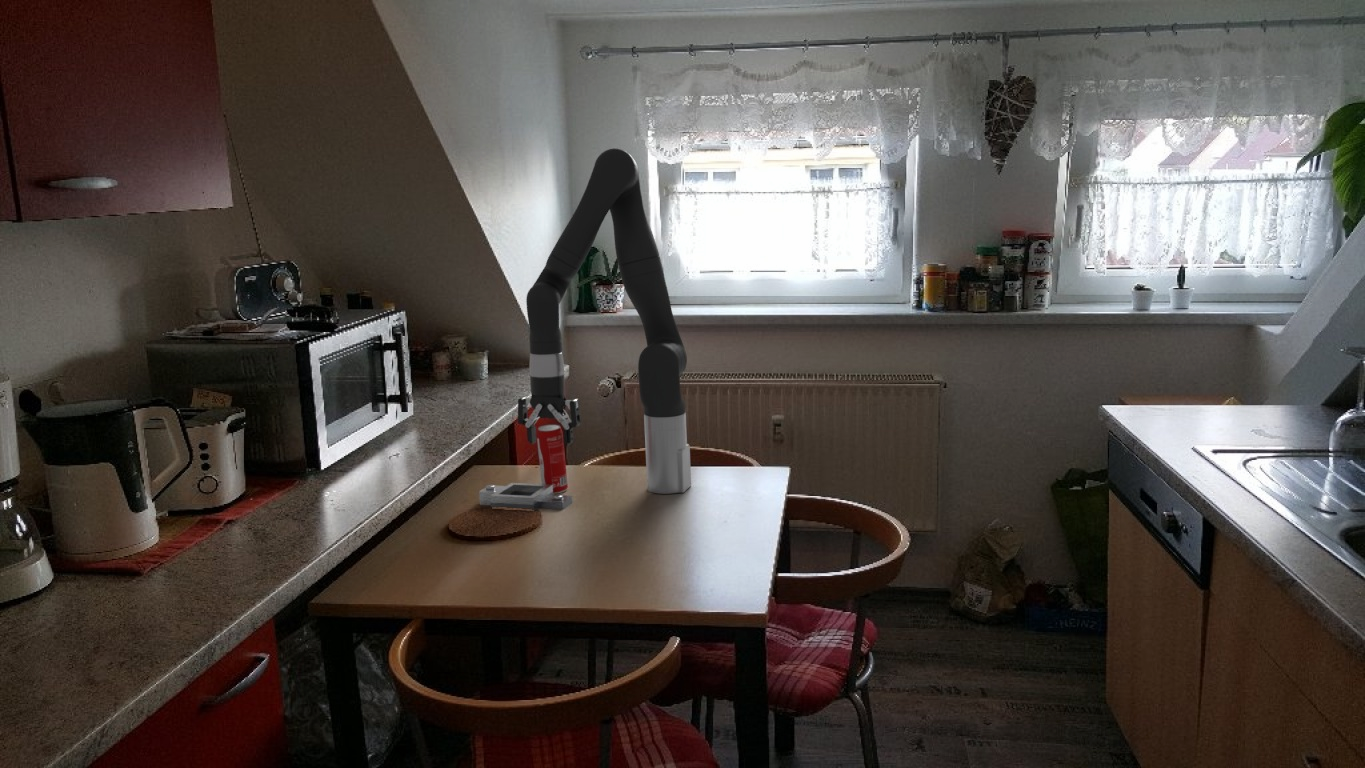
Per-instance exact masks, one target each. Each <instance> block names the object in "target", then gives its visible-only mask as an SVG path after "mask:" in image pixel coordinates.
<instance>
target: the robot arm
mask: <svg viewBox="0 0 1365 768" xmlns="http://www.w3.org/2000/svg"><path fill="white" fill-rule="evenodd" d="M641 190H642V189H641V183H640V172H639V167H638V163H637V162H636V160H635V159H634V157H632V155H631V154H630V153H629V152H627V151H626V150H624V149H621V148H618V147H617V148H609V149H607V150H604V151H603V152H601V153H600V154H599V155H598V156H597V158H596V159H595V162H594V165H593V168H592V171H591V174H590V177H589V179H588V183H587V185H586V188H585V190H584V192H583V194H582V197H581V199H580V201H579V203H578V205H577V206H576V208H575V210H574V213H573V214H572V216H571V218H570V219H569V221H568V223H567V224H566V226H565V228H564V229H563V231H562V232H561V234H560V236H559V238H558V240H557V241H556V243H555V245H554V247H553V248H552V249H551V252H550V254H549V256H548V258H547V260H546V261H545V262H546V263H545V266H544V267H543V269H542V271H541V272H540V274H539V276H538V278H537V279H536V280H535V282H534V284H533V285H532V286H531V287H530V289H529V290H528V292H527V294H526V301H525V303H526V314H527V320H528V326H529V337H528V338H529V369H528V371H529V379H530V380H529V381H530V382H529V383H530V394H531V395H530V396H531V397H530V398H528V397H527V396H523V397H520V398H519V399H518V400H517V424H518V425H520V426H525V428H526V438H527V439H526V440H527V441H528V442H529V444H530V445H534V444H536V443H537V426H535V424H536V423H537V422H538V420H539V419H547V418H548V419H552V420H554V419H556V421H557V422H558V423H560V424H561V426H562V427H563V428H564V429H563V442H564V447H569V446H570V445H571V444H572V443H573V442H574V428H577V427H579V426H580V425H581V424H582V421H581V409H580V400H579V398H574V399H567V398H566V388H565V387H566V385H565V365H564V364H565V361H564V355H563V344H562V343H563V341H562V340H563V338H562V332H561V329H560V303H561V302H562V300H563V298H564V296H565V294H566V292H567V290H568V288H569V286H570V284H571V282H572V280H573V279H574V278H575V276H576V275H577V274H578V272H579V270H580V269H581V266H582V265H583V263H584V262H585V260H586V259H587V256H588V254H589V252H590V250H591V248H592V246H593V245H594V242H595V239H596V237H597V235H598V233H599V230H600V228H601V226H602V223H603V221H604V220H605V218H606V217H607V215H608V213H609V212H610V214H611V215H610V216H611V219H612V224H613V225H612V226H613V235H614V237H613V239H614V249H615V255H616V260H617V266H618V270H619V273H620V274H619V275H620V277H621V282H622V285H623V288H624V289H625V292H626V295H627V296H628V298H629V300H630V302H631V304H632V305H633V308H634V309H635V310H636V312H637V314H638V316H639V319H640V320H641V323H642V327H643V330H644V334H645V340H646V347H645V348H643V349H642V351H641V353H640V354H639V357H638V364H637V365H638V367H637V369H638V385H639V397H640V401H641V402H640V403H641V404H642V408H643V420H644V422H643V423H644V424H643V425H644V438H645V439H644V441H645V442H644V445H645V464H646V465H645V466H646V467H645V468H646V469H645V470H646V485H647V486H646V487H647V490H648V492H651V493H654V494H665V495H667V494H668V495H669V494H677V493H686V491H687V490H688V489H689V488H690V487H691V486H692V477H691V476H692V473H691V471H692V470H691V467H692V466H691V450H690V449H691V445H690V444H689V443H688V440H687V438H688V437H687V411H686V410H687V409H686V402H685V399H684V398H683V397H682V392H681V377H680V376H681V375H683V373H684V372H685V370H686V368H687V364H688V356H687V355H688V354H687V352H686V349H685V346H684V343H683V340H682V337H681V335H680V333H679V329H678V326H677V324H676V321H675V318H674V314H673V311H672V305H671V301H670V296H669V290H668V287H667V283H666V279H665V274H664V273H665V272H664V269H663V268H664V267H663V265H662V261H661V256H660V251H659V249H658V246H657V243H656V239H655V238H654V234H653V231H652V228H651V226H650V223H649V220H648V218H647V214H646V210H645V209H644V208H645V207H644V203H643V196H642V191H641ZM530 406H531V407H532V408H533V411H532V413H531V414H530V415H529V417H528V411H529V410H528V409H529V407H530ZM566 407H567V409H568V410H570V417H569V413H567V411H566V410H565V408H566Z"/></svg>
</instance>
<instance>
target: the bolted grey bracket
mask: <svg viewBox="0 0 1365 768" xmlns="http://www.w3.org/2000/svg"><path fill="white" fill-rule="evenodd" d="M478 498H479V506H490V508H491V507H507V508H522V509H532V510H536V511H537V510H539V509H550V510H564V509H565V508H567V507H568V506H570V505H571V504H572V503H573V496H572V495H563V494H553V485H546V484H542V483H524V482H523V483H522V482H519V483H518V482H510V483H508V484H507V485H495V484H488V485H487V484H486V485H485V487H484V488H482V489H481V490H479V491H478Z"/></svg>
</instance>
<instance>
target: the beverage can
mask: <svg viewBox="0 0 1365 768" xmlns="http://www.w3.org/2000/svg"><path fill="white" fill-rule="evenodd" d="M536 443H537V450H538V451H537V452H538V460H539V470H540V479H541V481H540V482H541V484H546V485H553V495H558V494H561V493H562V494H563V493H564V492H566V491H567V490H568V487H569V486H568V474H567V466H566V465H567V463H566V455H565V445H564V430H562V428H561V425H560V424H553V423H552V424H545V425H541V426H539V427H538V428H537V431H536Z"/></svg>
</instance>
